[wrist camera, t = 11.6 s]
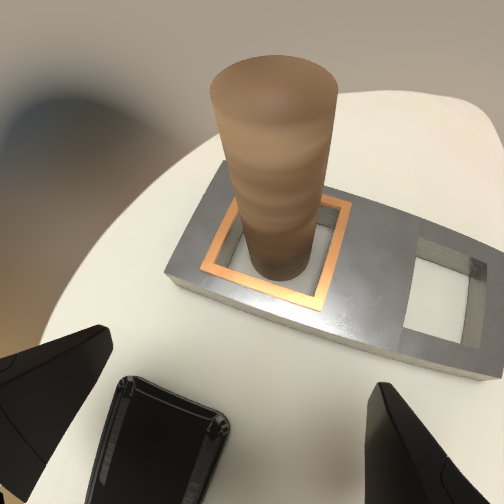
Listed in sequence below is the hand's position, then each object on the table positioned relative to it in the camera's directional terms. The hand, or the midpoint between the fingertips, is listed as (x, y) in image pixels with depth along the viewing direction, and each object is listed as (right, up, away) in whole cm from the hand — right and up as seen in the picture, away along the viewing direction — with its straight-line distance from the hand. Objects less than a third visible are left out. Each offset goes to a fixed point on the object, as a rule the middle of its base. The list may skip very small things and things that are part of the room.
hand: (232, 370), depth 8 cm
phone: (-7, -12, +6) cm, 15 cm away
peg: (+2, +4, +11) cm, 12 cm away
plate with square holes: (+8, +2, +10) cm, 13 cm away
